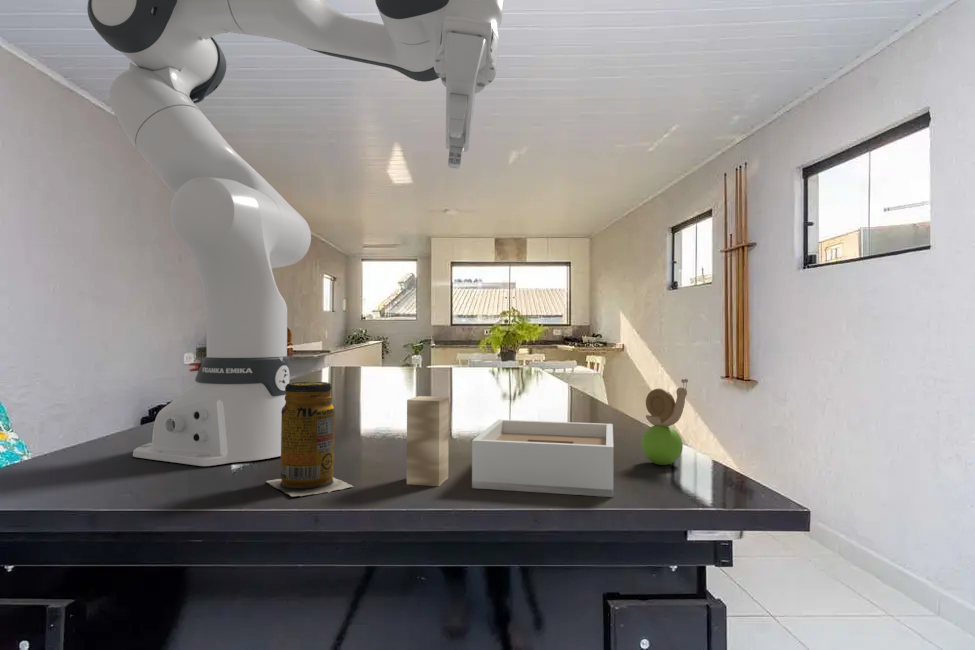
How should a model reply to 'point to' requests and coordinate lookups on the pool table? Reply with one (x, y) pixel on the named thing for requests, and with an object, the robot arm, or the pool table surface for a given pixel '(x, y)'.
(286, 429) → the condiment
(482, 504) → the pool table surface
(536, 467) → the open box
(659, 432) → the snail figurine
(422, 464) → the beech peg
